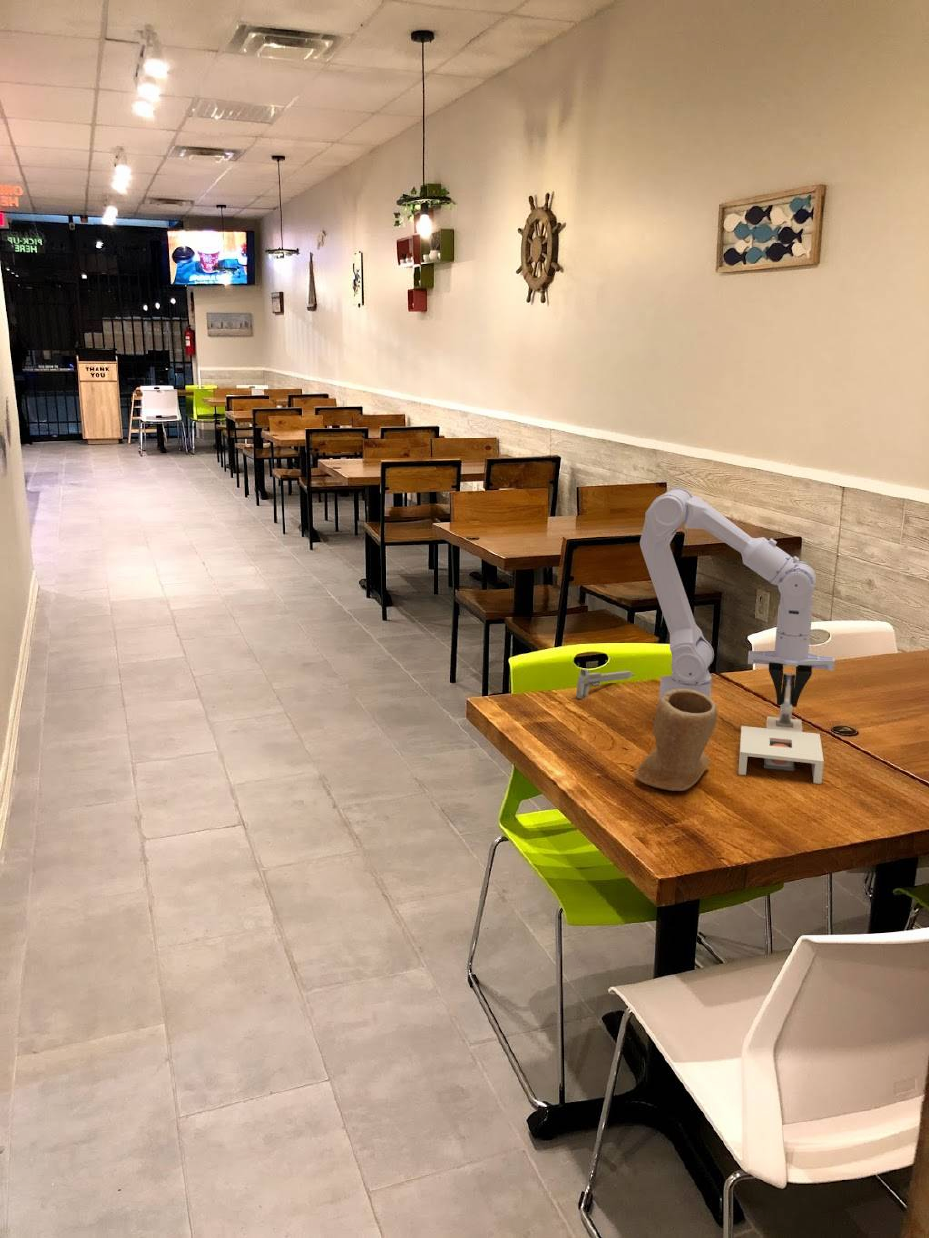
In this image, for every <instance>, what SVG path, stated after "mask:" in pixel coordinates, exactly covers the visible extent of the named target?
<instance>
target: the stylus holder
mask: <svg viewBox="0 0 929 1238" xmlns="http://www.w3.org/2000/svg"><path fill="white" fill-rule="evenodd" d="M779 718H780V717H775V716H766V725H765V726H766V727H765V728H768V729H777V730H787V731H797V732H804V731H803V724H802V723H803V722H802V719H797V718H791V723H790V724H783V723H780V722H779Z"/></svg>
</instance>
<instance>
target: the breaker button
mask: <svg viewBox="0 0 929 1238" xmlns="http://www.w3.org/2000/svg"><path fill="white" fill-rule="evenodd" d="M772 746H779V747H788V746H787V745H784V744H773V745H772ZM788 748H789V747H788ZM763 768H764V769H769V770H779V771H786V772H787V771H788V772H795V761H786V760H777V759H768V758H763Z"/></svg>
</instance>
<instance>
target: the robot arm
mask: <svg viewBox="0 0 929 1238" xmlns="http://www.w3.org/2000/svg"><path fill="white" fill-rule="evenodd" d="M644 515H645V519H644V524H643V527H642V532H641V535H640V540H639V546H640V547H639V548H640V549H641V553H642V556H643V559H644V562H645V565H646V568H647V570H648V574H649V577H650V579H651V582H652V583H651V584H652V585H653V588H654V591H655V594H656V597H657V600H658V604H659V607H660V610H661V612H662V616H663V619H664V621H665V624H666V627H667V630H668V633H669V650H670V653H671V663H670V667H671V672H672V673H671V675H662V676H661V678H660V684H659V685H660V686H659V693H658V695H659V696H658V702H659V701H660V699H661V697H662V696H663V695H664V694H665V693H667V692H668V691H670V690H674V689H690V690H695V691H698V692H700V693H703V694H705V695H706V696H708V697H710V698H711V691H712V690H711V689H712V679H713V678H712V675H711V674H710V672H709V669H708V668H709V666H711V664H712V663H713V661H714V658H715V657H714V656H715V653H714V652H715V651H714V647H712V645H711V643H709V642H708V640H706V638H705V637H704V634H703V632H702V629H701V628H700V627H699V626H698V625H697V623H696V621H695V618H694V615H693V612H692V609H691V606H690V603H689V599H688V596H687V593H686V590H685V587H684V585H683V582H682V578H681V576H680V573H679V570H678V566H677V564H676V561H675V558H674V555H673V551H672V549H671V545H670V544H671V542H672V540H673V538H674V537H675V535H676V534H677V532H678V529H679V528H680V527H681V526H682V525H683V524H684V523H685V525H684V529H688V530H689V529H691V530H692V529H693V530H695V529H696V530H697V529H699V530H700V529H702V530H704V531H706V532H708V533H710V534H711V535H712V536H713V537H716V538H717V539H719V540H720V541H721V542H723V543H724V544H727V545H728V546H729V547H731V548H733V550H735V551H737V552H739V553H740V554H741V557H742V559H741V560H742V564H743V565H745V566H746V567H748V568H749V569H750V570H751V571H753V572H755V573H756V574H758V575H759V576H760V577H762V578H763V579H764V580H766V581H767V582H769V583H770V584H772V585H775V586H777V587H778V591H779V593H780V599H779V601H780V602H779V605H778V606H777V607H778V608H777V618H776V629H775V630H776V631H775V640H774V641H775V643H774V650H748V653H747V654H748V656H747V665H754V664H760V665H768V672H769V676H770V677H771V681H772V682H773V686H774V689H775V695H776V706H781V702H782V685H783V674H784V666H785V667H795V674H794V675H795V683H794V694H793V703H792V708H796V707H798V701H799V698H800V696H801V694H802V691H803V689H804V687H805V685H806V684H807V683H808V681H809V680H810V678H811V676H812V674H813V669H818V670H819V669H820V670H827V671H830V672H834V670H835V662H836V661H835V657H832V656H824V655H819V654H818V655H817V654H813V653H809V650H810V640H811V631H812V628H811V627H812V622H813V621H812V620H813V617H812V616H813V612H814V611H813V606H812V605H813V601H814V598H813V595H814V591H815V587H816V586H815V585H816V582H817V576H816V572H815V571H814V570H815V569H813V567H812V566H811V565H809V563H808V562H806V561H800V558H799V557H798V556H795V555H794V556H791V555H790V554H788V553H787V552H786V551H784V550H783V549H782V548H780V547H779V546H777V543H778V541H776V540H775V539H773V538H770V539H768V538H766V537H763V536H761V537H757V538H756V537H752V536H750V534H748V533H746V532H745V531H744V530H743V529H741V528H740V527H739V526H737V525H736V524H735V523H734V522H732V521H731V520H730V519H728V518H727V517H726V516H724V515H723V514H722V513H720V512H719V511H718V510H717V509H715V508H714V507H713V506H711V505H710V504H709V503H708V502H706V501H705V500H703V499H702V498H701V497H699V496H696V495H693V494H692V493H691V492H690V491H688V490H687V489H685V488H681V487H674V488H670V489H668V490H667V491H665V493H663V494H661V495H659V496H657V497H656V498H655V499H654V500H653V501H652V502H651V504H650V506H649V507H648V508H647V510H646V511H645V514H644Z"/></svg>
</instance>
